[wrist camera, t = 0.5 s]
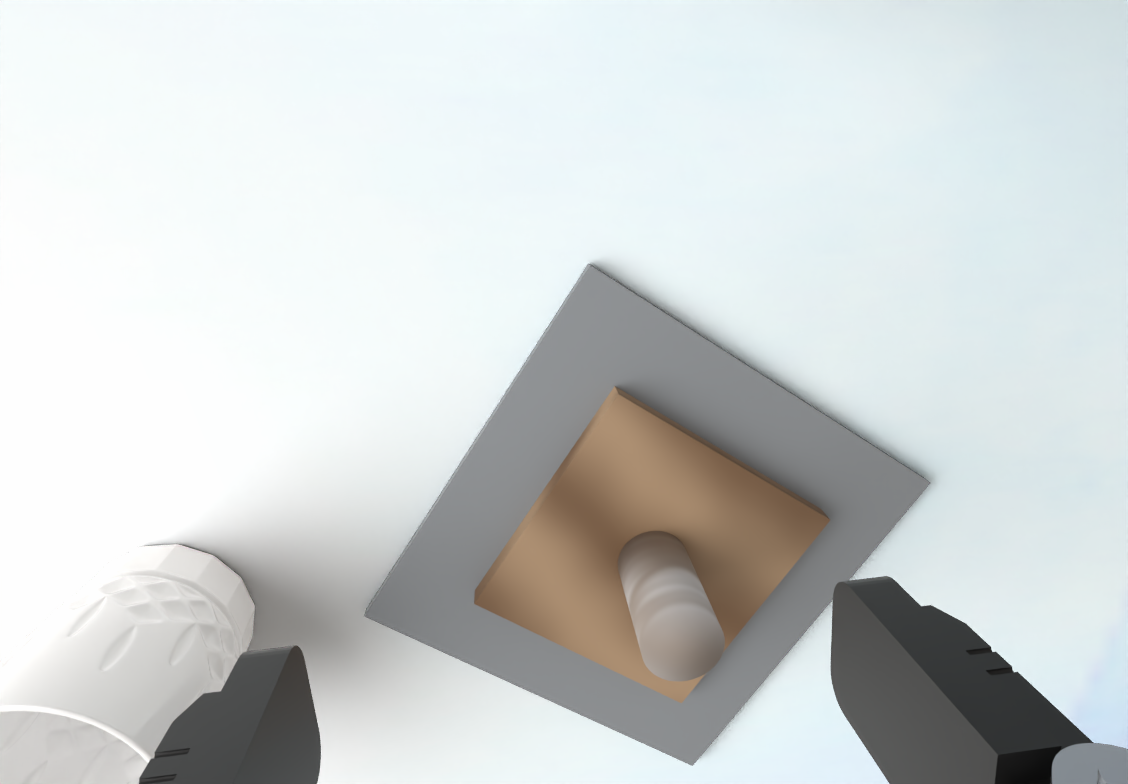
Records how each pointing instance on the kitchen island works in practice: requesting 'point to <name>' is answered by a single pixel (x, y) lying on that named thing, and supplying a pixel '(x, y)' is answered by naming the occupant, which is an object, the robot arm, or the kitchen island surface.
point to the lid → (648, 549)
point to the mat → (539, 446)
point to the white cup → (120, 667)
